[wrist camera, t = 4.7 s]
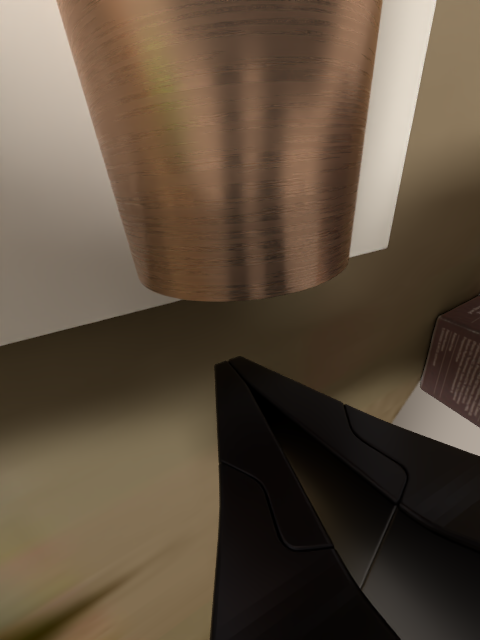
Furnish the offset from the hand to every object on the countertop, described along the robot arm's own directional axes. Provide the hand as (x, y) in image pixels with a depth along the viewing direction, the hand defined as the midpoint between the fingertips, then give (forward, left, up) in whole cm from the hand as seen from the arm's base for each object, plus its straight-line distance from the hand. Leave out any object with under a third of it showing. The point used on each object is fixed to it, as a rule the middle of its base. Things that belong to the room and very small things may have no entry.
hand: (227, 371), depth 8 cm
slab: (+19, 0, -2) cm, 19 cm away
